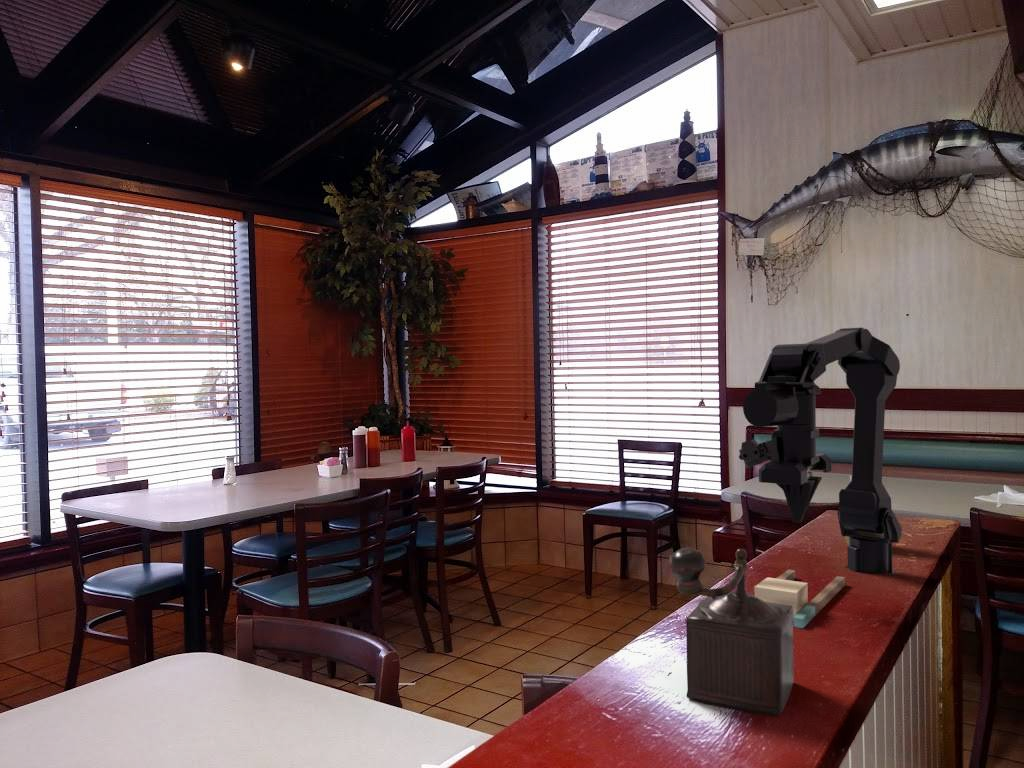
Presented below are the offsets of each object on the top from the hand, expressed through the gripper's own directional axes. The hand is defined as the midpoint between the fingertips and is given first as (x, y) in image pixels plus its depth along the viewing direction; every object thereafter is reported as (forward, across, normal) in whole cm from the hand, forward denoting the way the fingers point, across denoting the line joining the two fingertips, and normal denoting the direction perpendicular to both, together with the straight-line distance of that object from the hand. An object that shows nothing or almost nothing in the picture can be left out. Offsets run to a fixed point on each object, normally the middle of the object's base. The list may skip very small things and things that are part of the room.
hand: (797, 522), depth 122 cm
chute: (+12, +2, 0) cm, 13 cm away
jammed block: (+12, +9, 0) cm, 15 cm away
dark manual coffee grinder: (+13, +40, +4) cm, 42 cm away
